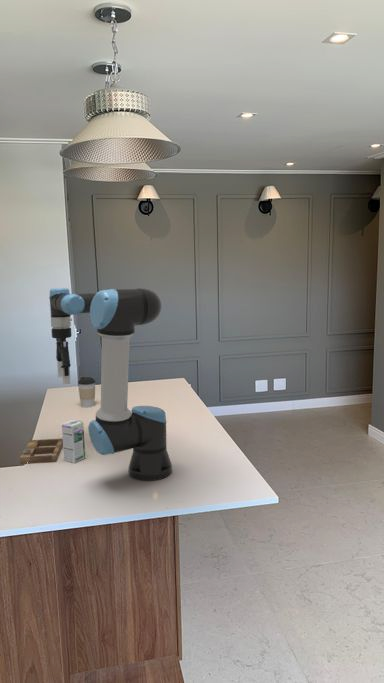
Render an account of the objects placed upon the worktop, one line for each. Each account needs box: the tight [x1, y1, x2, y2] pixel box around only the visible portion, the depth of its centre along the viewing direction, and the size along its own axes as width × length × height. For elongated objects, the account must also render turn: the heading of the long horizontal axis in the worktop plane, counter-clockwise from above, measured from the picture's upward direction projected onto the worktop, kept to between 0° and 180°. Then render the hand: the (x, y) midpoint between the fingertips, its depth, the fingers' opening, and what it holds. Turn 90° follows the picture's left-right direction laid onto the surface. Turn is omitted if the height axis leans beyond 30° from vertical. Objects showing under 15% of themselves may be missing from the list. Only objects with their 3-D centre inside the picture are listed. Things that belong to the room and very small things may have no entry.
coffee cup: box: [77, 376, 96, 408], centre depth 258 cm, size 9×9×15 cm
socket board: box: [19, 438, 63, 465], centre depth 191 cm, size 19×13×3 cm
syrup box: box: [61, 419, 86, 464], centre depth 184 cm, size 6×6×14 cm
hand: (64, 380), depth 196 cm, fingers open, 13 cm apart
